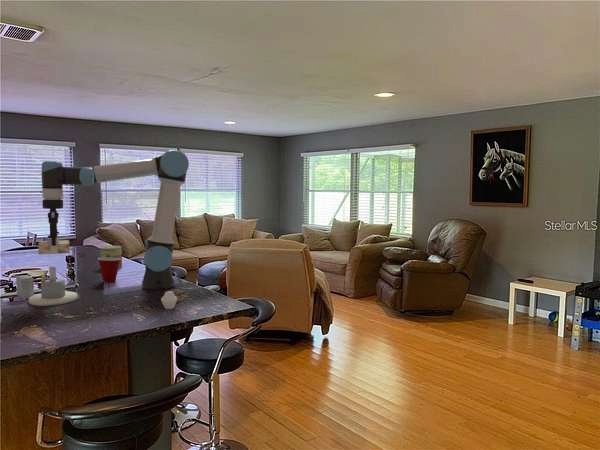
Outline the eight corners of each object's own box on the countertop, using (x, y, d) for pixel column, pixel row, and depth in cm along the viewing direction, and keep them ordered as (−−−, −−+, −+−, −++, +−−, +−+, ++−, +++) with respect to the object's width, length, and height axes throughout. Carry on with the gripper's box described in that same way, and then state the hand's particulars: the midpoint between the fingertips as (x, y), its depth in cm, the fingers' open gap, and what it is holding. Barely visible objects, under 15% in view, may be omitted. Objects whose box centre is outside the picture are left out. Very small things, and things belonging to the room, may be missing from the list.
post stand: (74, 292, 199) (73, 261, 198) (80, 301, 185) (79, 268, 183) (27, 297, 189) (25, 265, 188) (30, 308, 175) (28, 272, 173)
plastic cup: (126, 280, 224) (125, 257, 223) (106, 284, 215) (106, 260, 214) (112, 278, 230) (112, 255, 229) (93, 281, 221) (92, 257, 220)
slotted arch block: (69, 249, 194) (68, 240, 194) (69, 253, 185) (69, 243, 184) (39, 250, 189) (39, 241, 189) (38, 254, 180) (38, 244, 179)
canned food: (96, 268, 254) (96, 248, 252) (108, 265, 265) (108, 245, 264) (115, 269, 252) (114, 248, 251) (126, 266, 263) (125, 246, 262)
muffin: (178, 305, 182) (177, 288, 181) (176, 309, 176) (176, 292, 175) (162, 306, 181) (162, 289, 180) (160, 310, 175) (159, 292, 174)
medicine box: (34, 297, 190) (33, 277, 189) (22, 299, 187) (21, 279, 186) (28, 294, 196) (27, 274, 195) (16, 296, 192) (15, 276, 192)
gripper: (43, 197, 193) (44, 247, 195) (41, 200, 173) (42, 256, 175) (62, 197, 197) (64, 247, 199) (63, 200, 176) (64, 255, 178)
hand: (54, 251), depth 187 cm, fingers closed on slotted arch block, 11 cm apart
